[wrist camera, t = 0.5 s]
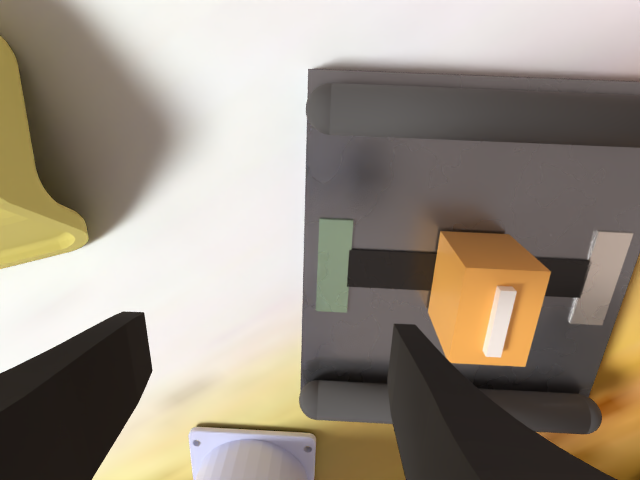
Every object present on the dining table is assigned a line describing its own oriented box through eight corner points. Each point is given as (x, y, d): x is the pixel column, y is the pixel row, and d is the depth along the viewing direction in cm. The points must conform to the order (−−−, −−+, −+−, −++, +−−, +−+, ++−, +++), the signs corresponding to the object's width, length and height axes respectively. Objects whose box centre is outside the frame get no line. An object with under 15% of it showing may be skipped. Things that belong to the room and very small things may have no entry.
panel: (568, 405, 24) (581, 423, 23) (301, 391, 25) (299, 408, 23) (676, 83, 18) (702, 84, 17) (310, 69, 18) (308, 69, 17)
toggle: (490, 315, 21) (529, 373, 17) (427, 312, 21) (450, 369, 17) (509, 234, 19) (556, 276, 15) (440, 231, 19) (469, 272, 15)
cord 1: (582, 414, 23) (604, 444, 21) (300, 399, 23) (297, 427, 22) (592, 386, 22) (615, 414, 21) (301, 371, 23) (298, 397, 21)
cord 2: (677, 146, 18) (717, 154, 16) (306, 130, 18) (303, 136, 16) (694, 97, 17) (739, 99, 15) (307, 81, 17) (304, 82, 15)
